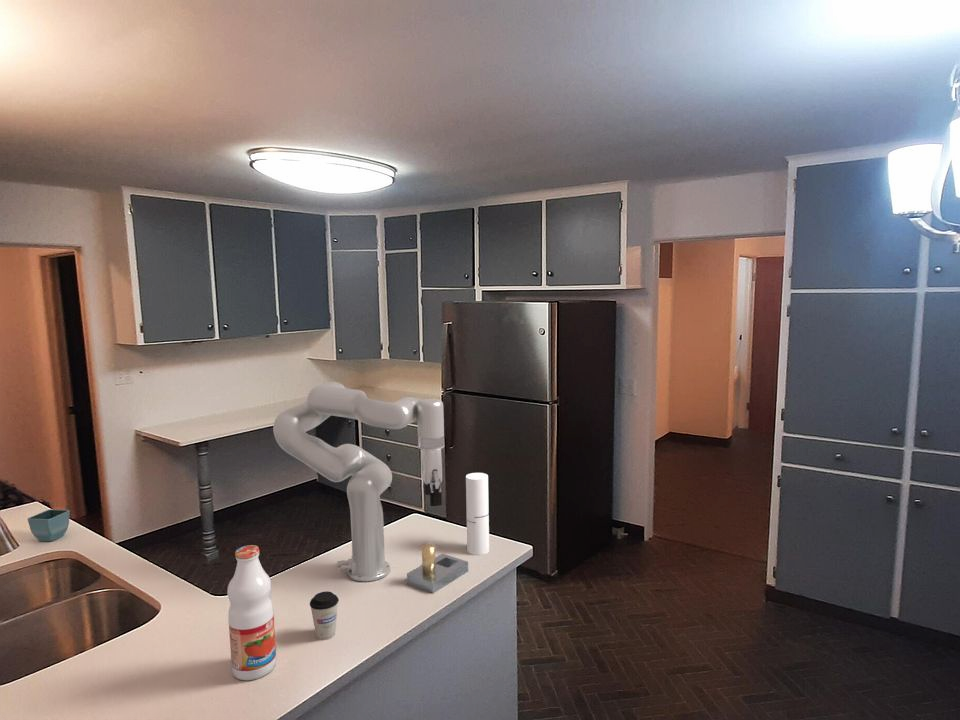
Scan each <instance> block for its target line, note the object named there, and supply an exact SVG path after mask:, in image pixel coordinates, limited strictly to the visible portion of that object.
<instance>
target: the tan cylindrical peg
mask: <svg viewBox="0 0 960 720" xmlns="http://www.w3.org/2000/svg"><path fill="white" fill-rule="evenodd" d="M435 557H436V545H435V544H433V543H425V544H422V545H421V565H422V574H423V575H425V576H432V575H434V574H435V573H436V568H435Z"/></svg>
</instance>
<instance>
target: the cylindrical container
mask: <svg viewBox="0 0 960 720" xmlns="http://www.w3.org/2000/svg"><path fill="white" fill-rule="evenodd" d="M465 497H466V498H465V499H466V500H465V501H466V503H465V504H466V506H465V507H466V546H467V547H466V551H467V554H469V555H471V556H483V555H486V554H488V553H489V552H490V526H489V525H490V524H489V523H490V519H489V518H490V516H489V515H490V514H489V513H490V512H489V475H488V474H487V473H484V472H471V473H468V474H466V476H465Z"/></svg>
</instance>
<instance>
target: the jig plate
mask: <svg viewBox="0 0 960 720" xmlns="http://www.w3.org/2000/svg"><path fill="white" fill-rule="evenodd" d="M435 568H436V573H435V574H434V575H432V576H425V575H423V574H422V564H421V565H419V566H418V567H416V568H415V569H412V570H411V571H409V572H407V573H406V583H407V585H408V584H409V585H410V586H413V587H415V588H418V589H421V590H423V591H426V592H429V593H431V594H435V593H437V592H438V591H440V590H441V589H443V588H444V587H446V586H447V585H449V584H450V583H451V584H452V582H454V581H455V580H457V579H458V578H460V577H462V576H463V575H465V574H466V573H468V572H469V562H468V561H467V560H463V559H461V558H458V557H454V556H452V555H449V554H445V553H441V554H439V555H438V556H435Z"/></svg>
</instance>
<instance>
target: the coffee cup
mask: <svg viewBox="0 0 960 720" xmlns="http://www.w3.org/2000/svg"><path fill="white" fill-rule="evenodd" d="M339 600H340V599H339V597H338V596H337V594H334V593H333V592H332V591H327V590H325V591H321V592H318V593H316V594H315V595H314V596H313V597H312V598H311V600H310V601H309V607H310V609H311V615H312V621H313V625H314V633H315V636H316V637H315V638H316V639H318V640H320V641H327V640H330V639H332V638H333V637H334V636H335V635H336V629H337V628H336V627H337V616H338V605H339V604H338V603H339Z"/></svg>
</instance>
